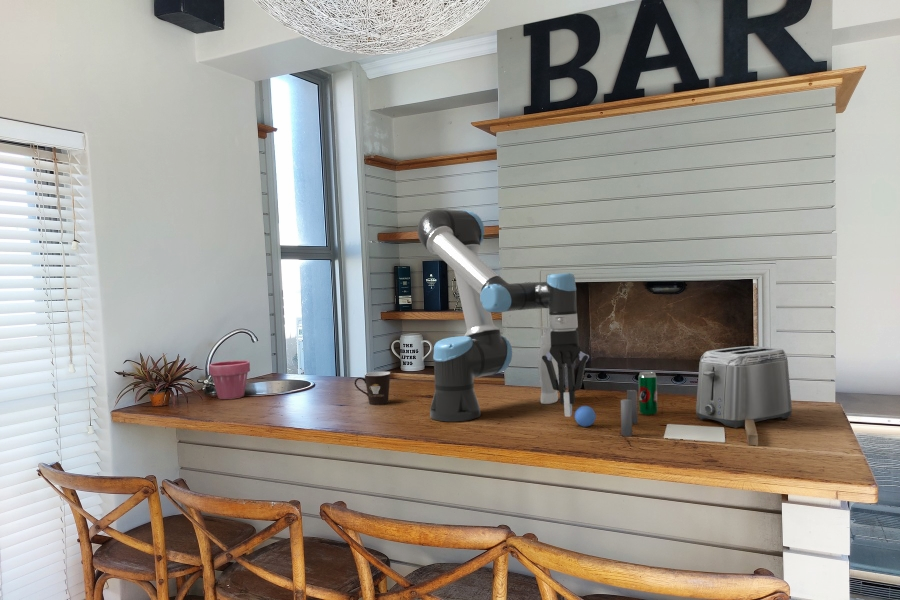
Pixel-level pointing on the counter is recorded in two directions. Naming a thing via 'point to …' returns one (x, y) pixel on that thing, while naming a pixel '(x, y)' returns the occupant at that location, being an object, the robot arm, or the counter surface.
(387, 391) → the coffee mug
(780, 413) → the toaster
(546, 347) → the soap bottle
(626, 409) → the post
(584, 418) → the ball
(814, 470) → the counter surface
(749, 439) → the wall
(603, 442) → the counter surface
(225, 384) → the plant pot
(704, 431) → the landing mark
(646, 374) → the soda can
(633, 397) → the post
